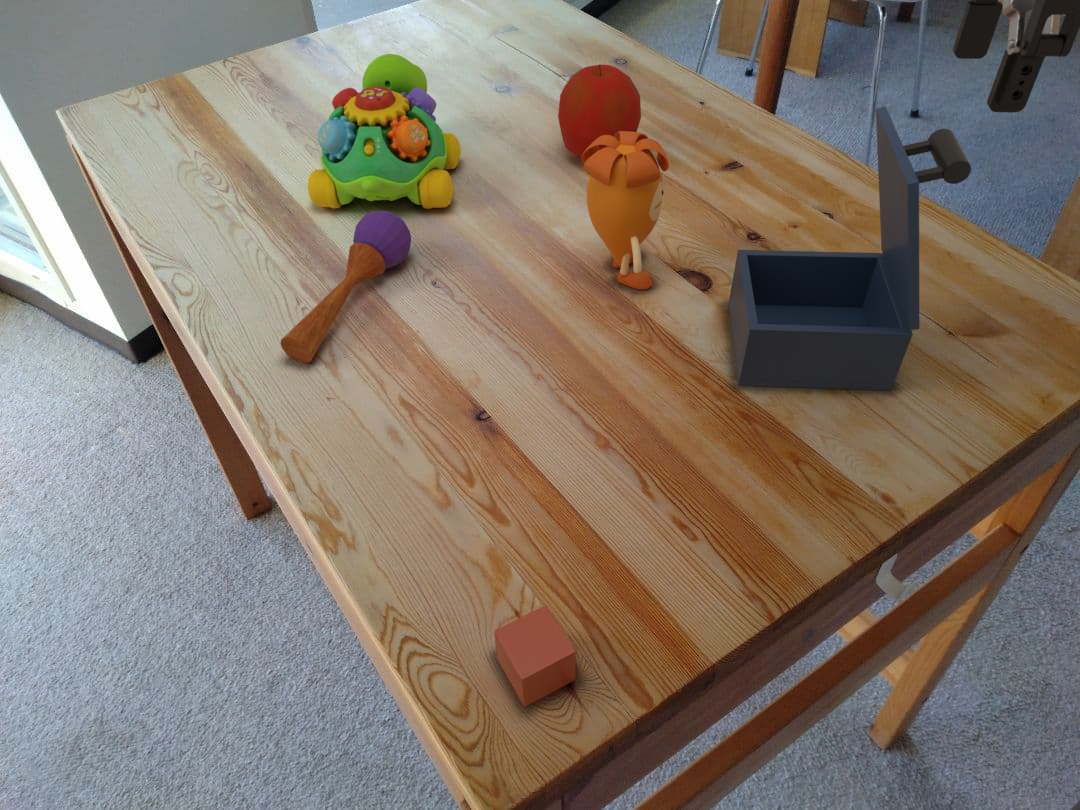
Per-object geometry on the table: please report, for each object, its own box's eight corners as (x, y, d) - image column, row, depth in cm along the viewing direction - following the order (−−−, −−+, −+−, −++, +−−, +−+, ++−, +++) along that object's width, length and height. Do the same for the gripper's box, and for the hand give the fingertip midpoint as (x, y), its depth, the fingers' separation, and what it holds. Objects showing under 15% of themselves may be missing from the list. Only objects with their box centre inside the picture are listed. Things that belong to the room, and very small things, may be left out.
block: (575, 679, 58) (576, 651, 55) (524, 707, 57) (521, 680, 54) (547, 633, 60) (546, 604, 58) (497, 659, 59) (493, 630, 56)
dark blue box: (738, 386, 77) (749, 329, 72) (728, 305, 85) (737, 249, 80) (891, 391, 76) (913, 334, 71) (866, 309, 84) (884, 252, 80)
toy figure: (669, 303, 86) (683, 171, 75) (592, 313, 85) (594, 180, 74) (641, 236, 94) (650, 108, 83) (570, 244, 93) (570, 116, 82)
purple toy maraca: (257, 324, 79) (362, 198, 90) (285, 369, 83) (382, 243, 95) (307, 329, 76) (409, 200, 88) (334, 376, 81) (427, 246, 92)
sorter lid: (907, 184, 62) (985, 167, 60) (875, 108, 70) (943, 91, 68) (909, 331, 71) (976, 319, 70) (881, 249, 79) (941, 237, 78)
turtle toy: (469, 127, 112) (461, 38, 104) (451, 227, 96) (440, 131, 88) (343, 128, 113) (325, 39, 104) (304, 228, 97) (278, 132, 88)
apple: (608, 184, 102) (611, 91, 93) (541, 159, 106) (539, 69, 98) (653, 148, 107) (660, 58, 99) (587, 126, 112) (589, 38, 103)
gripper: (1220, -178, 42) (1079, 132, 53) (1107, -228, 52) (1009, 41, 63) (1060, -177, 42) (955, 129, 54) (979, -227, 52) (905, 40, 64)
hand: (984, 81), depth 58 cm, fingers open, 8 cm apart
